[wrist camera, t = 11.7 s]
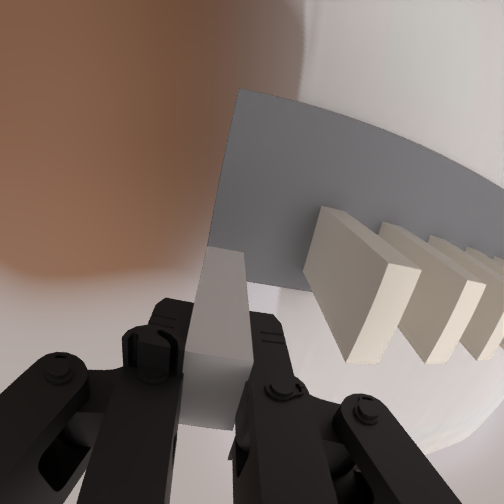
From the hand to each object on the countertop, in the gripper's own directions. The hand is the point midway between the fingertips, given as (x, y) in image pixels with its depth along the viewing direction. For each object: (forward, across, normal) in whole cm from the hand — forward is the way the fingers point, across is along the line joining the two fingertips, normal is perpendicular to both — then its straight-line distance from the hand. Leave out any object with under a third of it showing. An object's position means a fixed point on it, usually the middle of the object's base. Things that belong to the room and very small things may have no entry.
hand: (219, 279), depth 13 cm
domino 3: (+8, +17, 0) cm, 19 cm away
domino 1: (+8, +7, 0) cm, 11 cm away
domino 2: (+8, +12, 0) cm, 15 cm away
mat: (+9, +16, +3) cm, 18 cm away
